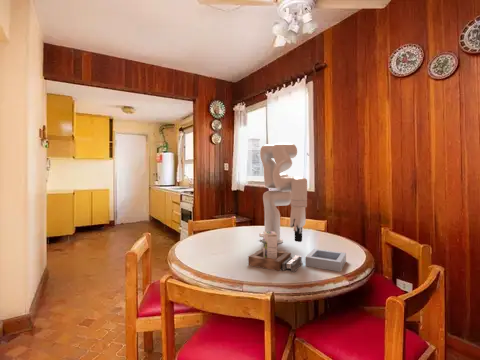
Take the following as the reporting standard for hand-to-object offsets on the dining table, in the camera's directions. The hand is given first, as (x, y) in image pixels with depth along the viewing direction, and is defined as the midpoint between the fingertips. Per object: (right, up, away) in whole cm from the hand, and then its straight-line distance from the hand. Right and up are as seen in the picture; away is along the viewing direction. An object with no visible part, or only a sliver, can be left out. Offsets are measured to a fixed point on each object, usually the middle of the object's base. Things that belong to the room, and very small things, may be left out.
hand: (298, 241), depth 125 cm
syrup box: (-14, -10, -3) cm, 17 cm away
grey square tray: (+12, -9, -5) cm, 16 cm away
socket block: (-11, -10, -5) cm, 16 cm away
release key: (-4, -10, -8) cm, 13 cm away
